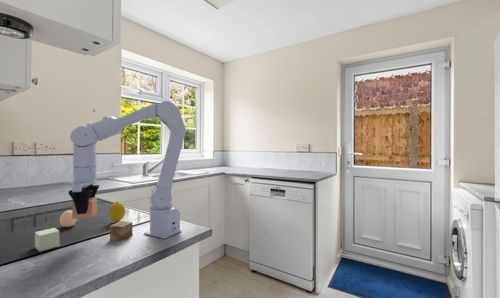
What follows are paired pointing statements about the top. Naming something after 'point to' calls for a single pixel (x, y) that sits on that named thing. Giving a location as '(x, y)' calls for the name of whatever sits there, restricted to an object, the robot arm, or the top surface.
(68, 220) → the egg
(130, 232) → the walnut block
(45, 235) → the sage block
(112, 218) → the lemon
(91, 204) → the terracotta block
